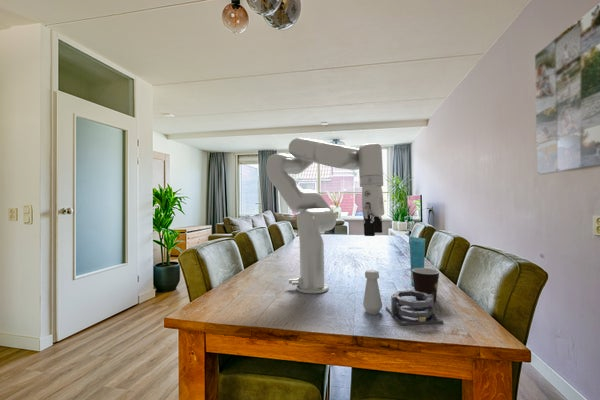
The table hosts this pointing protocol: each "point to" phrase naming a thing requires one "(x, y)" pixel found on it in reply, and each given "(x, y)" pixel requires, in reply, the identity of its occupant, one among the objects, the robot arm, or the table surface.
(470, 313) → the table surface
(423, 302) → the collar stand
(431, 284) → the coffee mug
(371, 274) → the salt shaker
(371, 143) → the robot arm
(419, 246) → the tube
